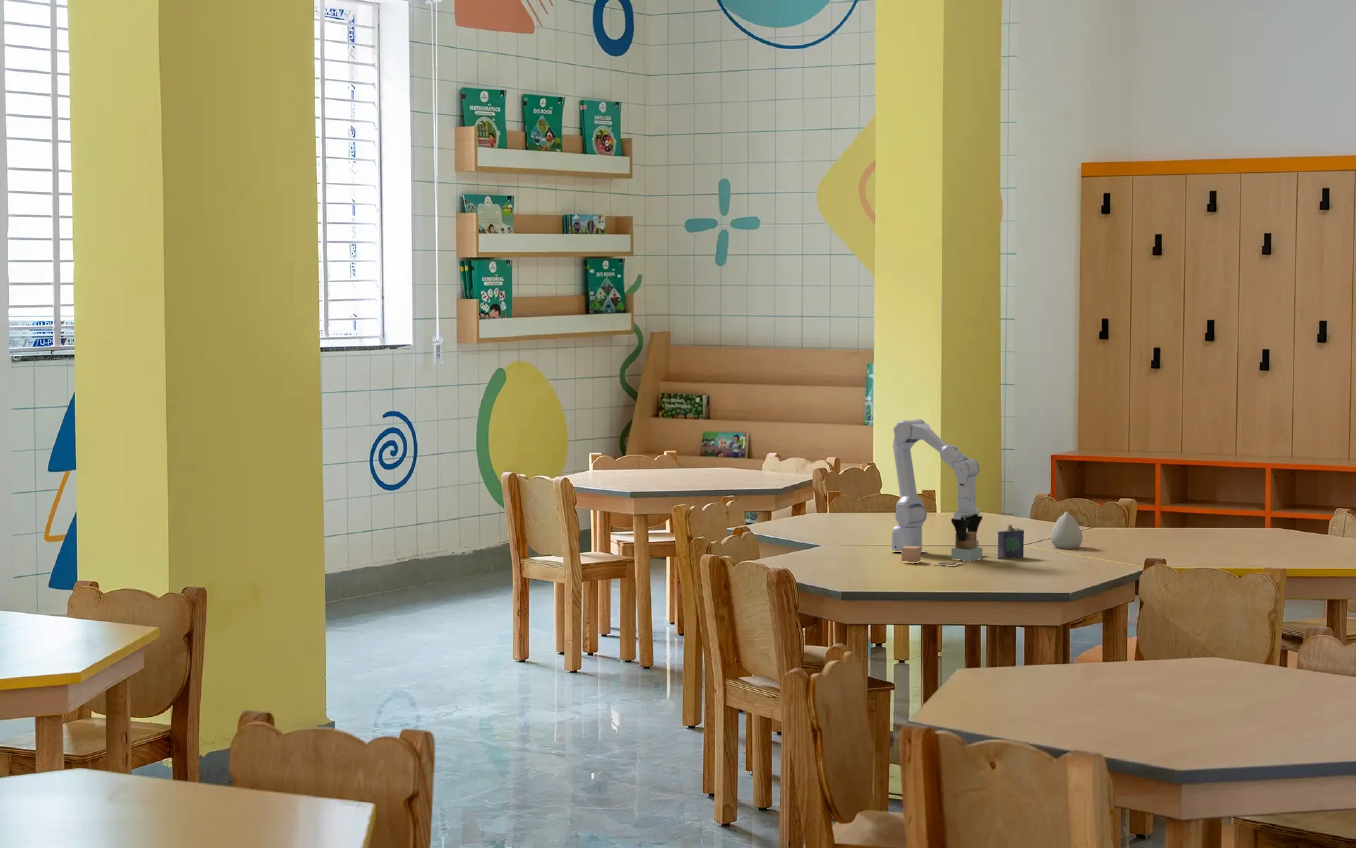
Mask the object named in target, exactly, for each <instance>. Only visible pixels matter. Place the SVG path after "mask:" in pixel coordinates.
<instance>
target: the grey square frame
mask: <svg viewBox="0 0 1356 848" xmlns="http://www.w3.org/2000/svg"><path fill="white" fill-rule="evenodd" d="M943 561H944V560H943ZM943 561H939V562H938V563H939V564H938V565H959V564H956V563H959V562H958V561H949V560H948V561H947V560H945V561H944V562H943ZM959 566H960V565H959Z"/></svg>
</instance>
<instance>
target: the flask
mask: <svg viewBox="0 0 1356 848" xmlns="http://www.w3.org/2000/svg"><path fill="white" fill-rule="evenodd" d="M1024 538H1025V531H1024V529H1021V528H1017V527H1016V528H1013V526H1012V524H1007V530H1005V529H1004V530H999V531H997V559H998V558H1001V559H1000V560H1003V559H1002V558H1012V559H1020V558H1024V549H1025V548H1024V547H1025V546H1024V545H1025V542H1024Z"/></svg>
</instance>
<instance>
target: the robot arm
mask: <svg viewBox="0 0 1356 848" xmlns="http://www.w3.org/2000/svg"><path fill="white" fill-rule="evenodd" d="M893 434H894V438H893V441H892V442H893V443H892V449H893V450H892V451H893V455H894V462H895V468H896V469H895V470H896V477H897V481H898V489H899V490H898V491H899V500H898V501H897V502H896V504H895V507H896V510H895V515H894V516H895V517H894V518H895V520H896V523H897V524H898V525H897V524H896V525H895V526H894V527H893V529H892V533H891V551H892V550H895V551H902V547H904V546H921V551H922V550H923V526H924V523H925V522H926V520H927V517H928V516H927V515H928V513H927V510H926V507H925V506H924V503H923V500H922V499H921V498H920V496H919V495H918V493H917V486H916V480H915V471H914V465H913V459H912V458H913V457H912V452H911V450H912V449H911V448H912V447H913V446H914V445H915V444H916V443H917V442H919V441H924V442H925V443H926V444H928V445H929V446H930V447H932V448H933V449H934V450H935V451H937V452H938V453H939V455H940V459H941V460H942V461H943V462H944V463H946V464H947V465H948V466H949V467H951V468H952V470H953V472H954V475H955V477H956V482H957V511H956V512H954V513H953V518H951V519H950V520H951V523H952V525H953V527H954V530H955V535H956V534H957V538H958V541H965V539H966V531H967V532H976V535H977V534H978V529H979V526H980V524H981V521H982V520H983V516H982V515H980V513H981V512H980V508H977V476H978V475H979V473H980V469H981V467H980V464H979V463H978V461H977V460H976V459H974V458H969V456H967V455H966V454H964V453H963V452H961V451H960V450H959V448H958V446H957V445H953V444H947V443H946V442H945V441H944V440H942V439H941V437H939V435H937V433H935V431H934V430H932V428H931V427H930V424H928V423H927V422H925V420H923V419H920V418H918V419H909V420H904V419H903V420H900V421H898V422H897V423H896V425H894V427H893ZM924 550H925V549H924ZM925 551H927V552H928V550H925Z"/></svg>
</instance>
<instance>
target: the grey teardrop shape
mask: <svg viewBox="0 0 1356 848" xmlns="http://www.w3.org/2000/svg"><path fill="white" fill-rule="evenodd" d="M1082 532H1083V531H1081V529H1080V525H1079V524H1078V521H1077V519H1076V518H1074V516H1072V515H1070V513H1069V512H1068V511H1065V512H1063V515H1061V516H1059V517H1058V518H1057V520H1056V522H1055V524H1054V526H1053V528H1052V530H1051V534H1050V541H1051V544H1052V545H1053V547H1055V548H1057V549H1062V550H1075V549H1077V548H1079V547H1080V546H1081V545H1082V543H1083V538H1084V537H1083V533H1082Z"/></svg>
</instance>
